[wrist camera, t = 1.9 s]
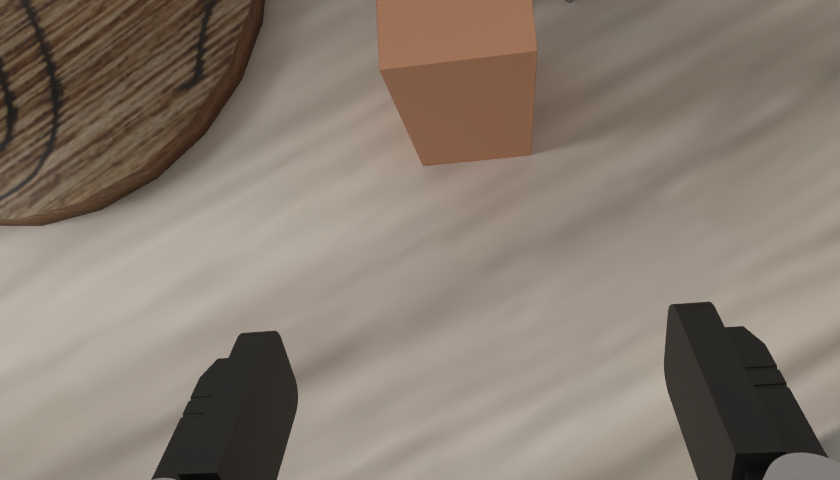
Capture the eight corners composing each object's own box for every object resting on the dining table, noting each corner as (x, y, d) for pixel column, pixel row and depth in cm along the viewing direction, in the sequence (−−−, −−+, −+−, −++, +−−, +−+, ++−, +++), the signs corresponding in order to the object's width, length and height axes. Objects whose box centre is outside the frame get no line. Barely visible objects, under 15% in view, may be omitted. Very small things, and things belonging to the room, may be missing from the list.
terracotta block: (423, 165, 31) (379, 70, 21) (417, 67, 32) (373, -67, 22) (530, 155, 30) (537, 51, 20) (520, 55, 31) (522, -90, 21)
